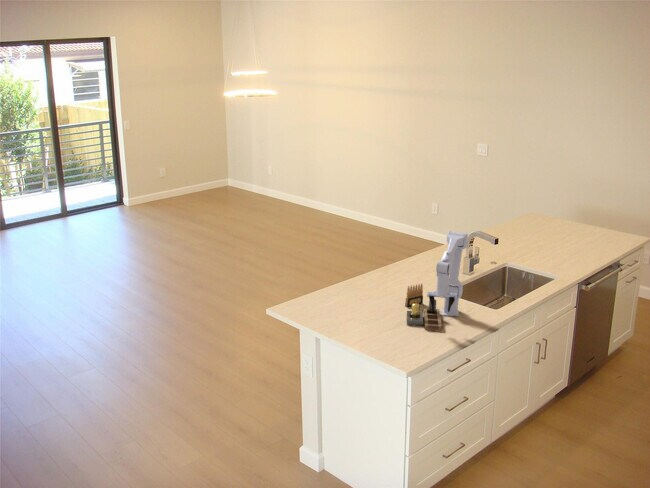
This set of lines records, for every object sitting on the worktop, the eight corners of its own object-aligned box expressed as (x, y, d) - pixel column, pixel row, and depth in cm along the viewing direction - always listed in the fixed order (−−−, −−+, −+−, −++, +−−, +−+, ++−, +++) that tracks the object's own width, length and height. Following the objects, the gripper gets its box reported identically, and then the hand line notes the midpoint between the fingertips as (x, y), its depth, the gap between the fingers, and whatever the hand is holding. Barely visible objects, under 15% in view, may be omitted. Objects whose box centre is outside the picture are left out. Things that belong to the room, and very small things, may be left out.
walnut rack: (423, 312, 377) (424, 308, 376) (439, 313, 376) (439, 309, 375) (424, 329, 357) (425, 325, 356) (441, 330, 356) (441, 326, 355)
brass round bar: (411, 318, 369) (412, 302, 366) (418, 319, 369) (419, 303, 366) (411, 321, 366) (412, 305, 363) (418, 322, 365) (419, 305, 363)
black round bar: (428, 314, 375) (429, 298, 372) (435, 315, 374) (436, 299, 371) (428, 317, 371) (429, 301, 368) (435, 317, 371) (436, 301, 368)
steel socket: (406, 315, 373) (406, 310, 372) (422, 316, 373) (422, 311, 372) (406, 324, 362) (407, 320, 361) (422, 325, 361) (423, 321, 360)
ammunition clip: (407, 307, 383) (408, 286, 379) (405, 306, 384) (406, 285, 380) (422, 303, 388) (424, 283, 384) (420, 302, 390) (422, 282, 386)
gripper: (428, 287, 347) (426, 313, 351) (458, 289, 346) (456, 314, 350) (427, 282, 354) (425, 307, 358) (457, 283, 353) (455, 308, 357)
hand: (440, 310), depth 355 cm, fingers open, 7 cm apart
